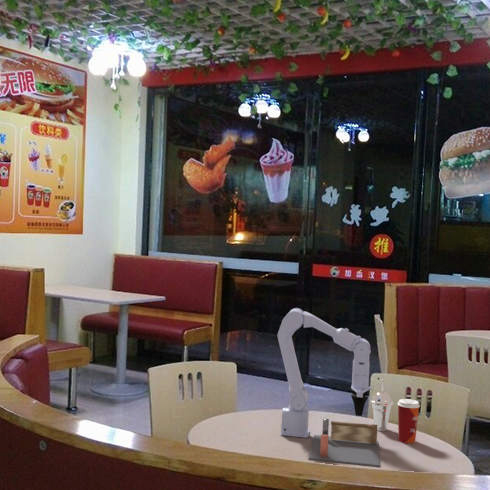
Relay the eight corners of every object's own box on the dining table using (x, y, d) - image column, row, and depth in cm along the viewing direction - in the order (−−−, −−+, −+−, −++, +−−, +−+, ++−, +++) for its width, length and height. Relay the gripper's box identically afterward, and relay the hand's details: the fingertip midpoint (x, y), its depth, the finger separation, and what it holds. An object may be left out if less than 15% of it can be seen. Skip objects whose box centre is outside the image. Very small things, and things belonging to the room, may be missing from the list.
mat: (308, 459, 211) (308, 457, 211) (314, 436, 235) (314, 434, 235) (379, 466, 207) (379, 465, 207) (378, 442, 231) (378, 441, 231)
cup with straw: (397, 430, 245) (399, 376, 245) (379, 434, 240) (382, 379, 240) (380, 424, 252) (382, 371, 252) (362, 427, 247) (365, 374, 247)
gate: (330, 439, 229) (331, 421, 229) (330, 437, 231) (331, 420, 230) (376, 443, 226) (377, 426, 226) (376, 442, 228) (377, 424, 228)
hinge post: (321, 441, 229) (322, 419, 229) (322, 439, 231) (323, 418, 231) (327, 442, 229) (328, 420, 229) (328, 440, 231) (329, 418, 231)
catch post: (319, 458, 213) (320, 436, 213) (320, 455, 215) (321, 434, 215) (327, 458, 212) (328, 437, 212) (327, 456, 215) (328, 434, 214)
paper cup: (418, 445, 229) (420, 405, 229) (395, 443, 231) (397, 403, 231) (417, 438, 237) (419, 399, 237) (395, 436, 239) (397, 397, 238)
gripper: (372, 379, 224) (370, 419, 225) (372, 370, 239) (370, 408, 239) (351, 378, 226) (349, 417, 226) (352, 369, 240) (350, 406, 240)
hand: (358, 412), depth 233 cm, fingers open, 6 cm apart
